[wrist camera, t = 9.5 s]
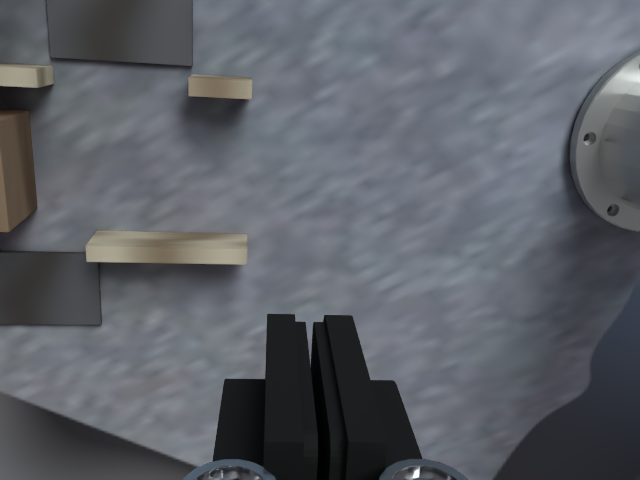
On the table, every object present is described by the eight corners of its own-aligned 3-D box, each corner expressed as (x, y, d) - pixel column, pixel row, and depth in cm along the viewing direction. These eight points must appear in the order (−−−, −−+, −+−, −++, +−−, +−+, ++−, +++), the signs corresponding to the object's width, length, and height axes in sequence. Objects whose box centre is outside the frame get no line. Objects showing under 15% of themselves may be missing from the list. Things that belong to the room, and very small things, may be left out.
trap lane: (254, -21, 35) (255, -25, 32) (244, 323, 42) (244, 344, 39) (-143, -53, 32) (-180, -61, 29) (-84, 321, 39) (-109, 344, 36)
